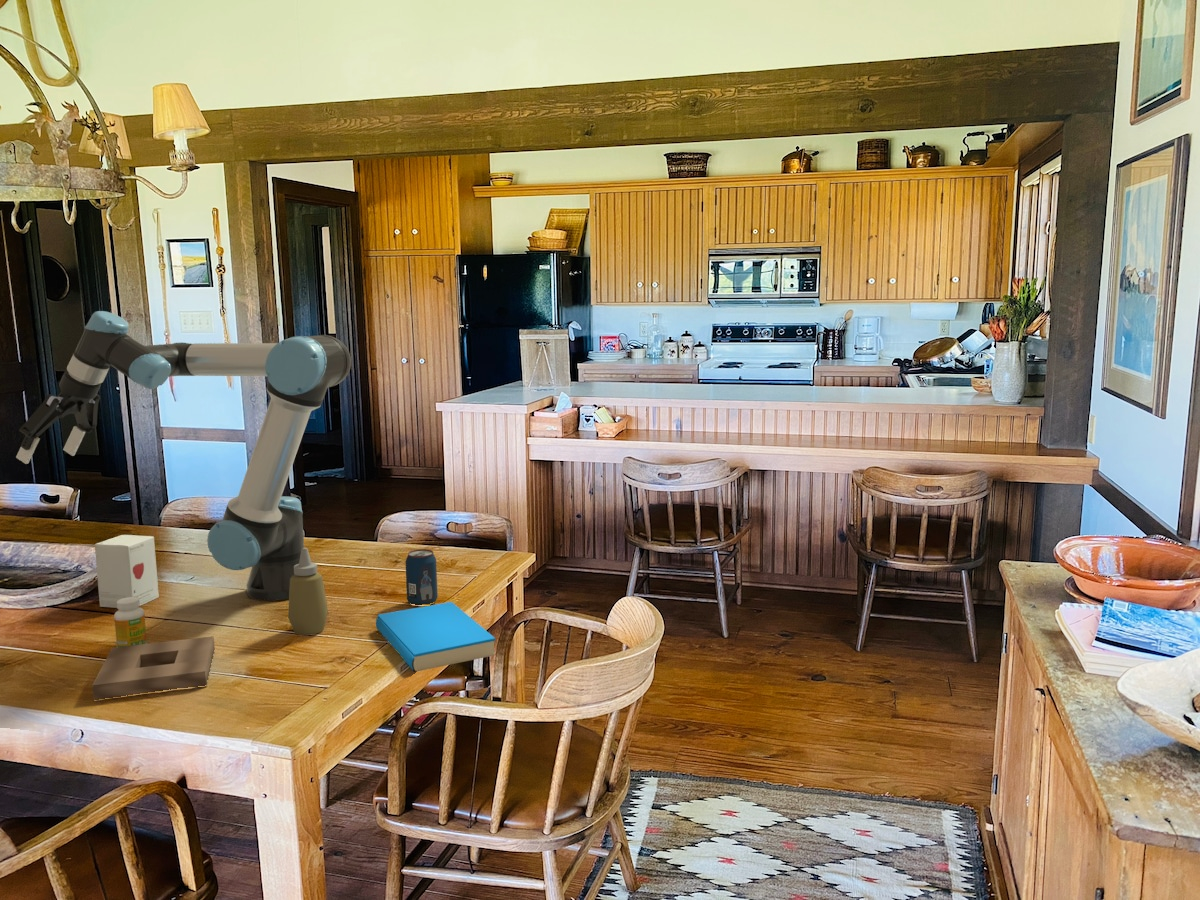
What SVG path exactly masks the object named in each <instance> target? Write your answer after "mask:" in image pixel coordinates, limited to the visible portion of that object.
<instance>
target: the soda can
mask: <svg viewBox="0 0 1200 900" xmlns="http://www.w3.org/2000/svg"><path fill="white" fill-rule="evenodd" d="M437 570H438V569H437V558H436V556H435V554H434V551H433V550H431V549H427V548H426V549H425V548H424V549H423V548H422V549H413V550H410V551H409V552H407V557H406V559H405V584H406V588H405V589H406V599H407V602H408V603H409V604H410V603H411V604H415V605H422V604H430V603H433V602H435V603H436V601H437V600H438V596H439V595H438V572H437Z"/></svg>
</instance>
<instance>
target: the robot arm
mask: <svg viewBox="0 0 1200 900" xmlns="http://www.w3.org/2000/svg"><path fill="white" fill-rule="evenodd" d="M129 327H130V326H129V323H128V322H127V321H126V320H125V319H124V318H123V317H121V316H119V315H117V314H115V313H112V312H109V311H105V310H98V311H94V312H93V313H92V314H91V317H90V319H89V320H88V322H87V323H86V325H85V326H84V330H83V332H82V334H81V336H80V339H79V341H78V343H77V346H76V348H75V349H74V351H73V353H72V356H71V358H70V361H69V362H68V364H67V367H66V370H65V371H64V372H63V375H62V376H61V379H60V380H59V385H58V386H59V389H60V393H59V394H58V395H57V396H54V395H53V394H50V393H48V394H47V395H46V396H45V398H44V400H43V402H42V403H40V405H39V407H37V408H36V410H35V411H34V412H33V413H32V415H30V417H29V418H27V420H26V421H25V422H24V423H23V424H22V425H21V426H20V428H19V430H18V431H19V432H20V433H22V434H24V438H22V439H23V440H22V441H21V444H20V448H19V450H18V452H17V454H16V456H15V458H16V459H17V460H19V461H21V462H22V463H23V464H25V465H27V464H29V463H30V461H31V459H32V457H33V454H34V453H35V450H36V448H37V446H38V444H39V442H40V440H41V438H39V437H40V436H41V435H42V434H43V433H44V432H45V431H46V430H47V429H49V428H50V427H51V426H52V425H53V424H55V423H56V422H57V421H58V420H59V419H63V418H64V417H66V416H69V415H71V414H72V415H74V417H75V420H76V424H77V425H75V426H73V427H72V430H71V432H70V434H69V436H68V438H67V440H66V442H65V445H64V446H63V449H62V450H63V451H64V452H65V453H67V454H69V455H70V456H72V457H74V456H75V455H76V453H77V451H78V449H79V447H80V445H81V443H82V441H83V439H84V437H85V436H86V433H88V434H91V433H92V432H93V429H95V428H96V427H97V425H98V412H99V411H98V410H99V402H100V399H101V396H100V395H99V394H98V393H99V390H100V389H101V386H102V383H104V381H105V379H106V377H107V374H108V371H109V370H110V368H111V367H113V369H115V370H116V371H118V372H120V373H121V374H122V375H124V376H126V377H127V378H129V379H130V380H131V381H133V383H136V384H137V385H139V386H142V387H144V388H145V389H147V390H148V389H149V390H155V389H157V388H159V386H162V385H163V384H165V382H166V381H167V380H168V379H169V377H170V378H171V377H195V376H196V377H197V376H198V377H202V376H203V377H210V376H211V377H267V381H268V382H267V385H266V391H267V394H268V395H269V397H270V401H269V404H268V407H267V410H266V412H265V415H264V419H263V422H262V424H261V427H260V430H259V433H258V436H257V439H256V442H255V445H254V448H253V451H252V453H251V458H250V460H249V463H248V466H247V469H246V472H245V475H244V478H243V481H242V484H241V487H240V490H239V492H238V495H237V496H234V497H233V498H231V499H230V500H228V502H227V505H226V509H225V511H224V514H223V517H222V519H221V520H219V521H217V522H215V524H214V525H213V526H212V527H211V528H210V529H209V531H208V534H207V539H206V541H207V546H208V547H207V548H208V551H209V553H211V555H212V558H213V559H214V561H216V563H218V564H219V566H222V567H223V568H226V569H228V570H231V571H242V570H245V569H249V568H250V572H249V576H248V579H247V584H246V594H247V597H249V598H251V599H253V600H258V601H267V602H268V601H270V602H271V601H282V600H283V601H284V600H289V588H290V578H291V577H292V576H293V575H295V574H294V566H295V565H296V564H299V561H300V555H301V549H302V548H305V541H304V523H303V522H304V521H303V513H304V512H303V510H302V502H301V500H300V499H299V498H297V497H295V496H283V493H284V490H285V488H286V485H287V481H288V479H289V477H290V474H291V470H292V467H293V465H294V462H295V458H296V455H297V453H298V450H299V447H300V444H301V442H302V439H303V435H304V433H305V430H306V427H307V426H308V425H307V424H308V421H309V419H310V416H311V412H312V411H315V410H317V409H319V408H321V406H322V403H323V401H324V399H325V396H326V394H327V393H326V392H327V390H328V388H331V387H335V386H337V385H338V384H340V383H342V382H343V381H344V380H345V379H346V378H347V376H348V375H349V373H350V370H351V366H352V356H351V354H350V353H351V352H350V351H349V349H348V348H347V346H346V345H345V344H344V343H343V341H341V340H339V338H336V337H334V336H332V335H327V334H319V335H318V334H317V335H309V336H308V335H307V336H306V335H305V336H304V335H294V336H291V337H289V338H286V339H283V340H281V341H279V342H275V343H274V342H273V343H272V342H271V343H269V342H268V343H267V342H266V343H265V342H264V343H262V342H261V343H259V342H258V343H257V342H256V343H254V342H251V343H250V342H249V343H247V342H245V343H239V342H238V343H233V342H231V343H228V342H227V343H225V342H224V343H223V342H222V343H220V342H219V343H217V342H216V343H215V342H213V343H212V342H211V343H210V342H209V343H204V342H203V343H202V342H201V343H190V342H174V343H165V344H164V343H163V344H152V345H151V344H149V345H145V344H142V343H140V342H138V341H137V340H135V338H132V337H131V336H129V335H128V332H129V331H128V330H129Z"/></svg>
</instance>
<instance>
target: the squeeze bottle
mask: <svg viewBox="0 0 1200 900" xmlns="http://www.w3.org/2000/svg"><path fill="white" fill-rule="evenodd" d="M294 574H295V575H293V576H292V577H291V578H290V588H289V599H288V614H287V617H288V620H289V623H290V625H291V628H292V630H293V632H294V633H295V635H299V636H312V635H315V634H319V633H321V632H323V631H324V629H325V627H326V626H325V625H326V622H327V618H328V615H329V609H328V604H327V603H328V602H327V597H326V590H325V586H324V578H323V575H322V574H321V573H319V572H318V564H317V563H315V562H312V559H311V556H310V552H309V549H308V547H304V548H302V549H301V555H300V561H299V564H296V565H295V566H294ZM311 634H312V635H311Z"/></svg>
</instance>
